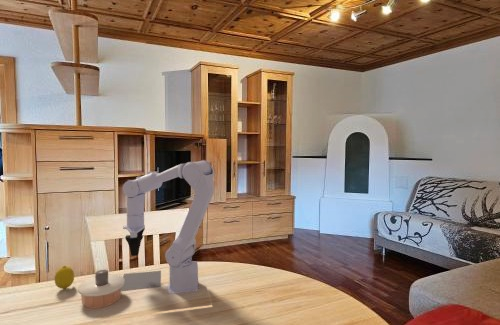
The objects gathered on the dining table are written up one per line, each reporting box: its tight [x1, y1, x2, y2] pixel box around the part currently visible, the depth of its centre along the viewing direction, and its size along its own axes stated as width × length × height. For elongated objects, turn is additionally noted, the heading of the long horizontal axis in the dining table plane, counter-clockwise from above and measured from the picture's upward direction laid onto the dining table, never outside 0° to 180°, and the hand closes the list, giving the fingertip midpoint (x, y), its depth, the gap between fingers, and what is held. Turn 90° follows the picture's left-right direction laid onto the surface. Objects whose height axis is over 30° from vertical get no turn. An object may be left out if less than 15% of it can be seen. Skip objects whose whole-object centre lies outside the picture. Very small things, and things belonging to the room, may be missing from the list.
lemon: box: [54, 265, 75, 290], centre depth 102 cm, size 6×6×8 cm
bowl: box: [80, 289, 122, 309], centre depth 96 cm, size 11×11×4 cm
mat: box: [121, 270, 162, 292], centre depth 109 cm, size 13×13×1 cm
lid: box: [77, 269, 125, 297], centre depth 96 cm, size 13×13×4 cm
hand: (135, 251), depth 109 cm, fingers open, 7 cm apart
